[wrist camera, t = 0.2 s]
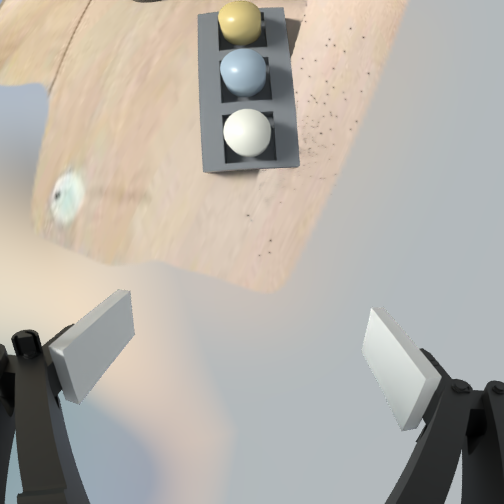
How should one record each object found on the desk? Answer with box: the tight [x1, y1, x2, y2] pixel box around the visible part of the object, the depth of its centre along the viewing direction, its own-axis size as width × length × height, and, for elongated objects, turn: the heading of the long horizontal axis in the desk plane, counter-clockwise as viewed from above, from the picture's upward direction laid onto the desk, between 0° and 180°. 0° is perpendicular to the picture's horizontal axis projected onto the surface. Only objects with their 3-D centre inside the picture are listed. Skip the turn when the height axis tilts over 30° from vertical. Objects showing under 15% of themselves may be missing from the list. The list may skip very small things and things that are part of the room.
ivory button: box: [223, 109, 271, 157], centre depth 32 cm, size 5×5×4 cm
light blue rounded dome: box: [220, 49, 266, 97], centre depth 31 cm, size 5×5×4 cm
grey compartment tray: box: [198, 7, 300, 173], centre depth 34 cm, size 24×12×3 cm, turn 4°
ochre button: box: [218, 1, 261, 46], centre depth 29 cm, size 5×5×4 cm
